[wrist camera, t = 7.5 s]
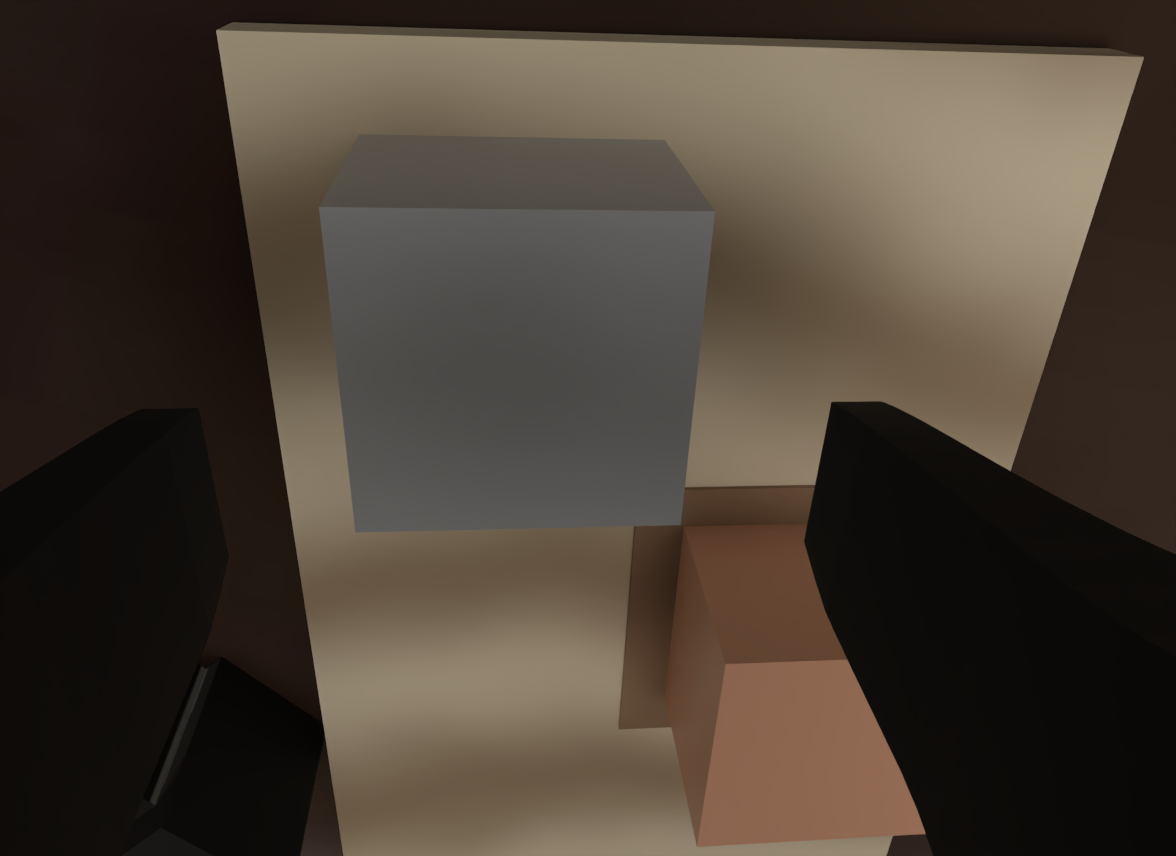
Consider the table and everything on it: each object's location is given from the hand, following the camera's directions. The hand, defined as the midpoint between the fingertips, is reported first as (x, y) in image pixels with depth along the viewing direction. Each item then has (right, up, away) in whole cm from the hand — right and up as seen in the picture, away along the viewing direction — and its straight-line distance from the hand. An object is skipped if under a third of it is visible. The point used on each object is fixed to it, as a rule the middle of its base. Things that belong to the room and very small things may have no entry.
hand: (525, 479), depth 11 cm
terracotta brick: (+5, -4, +10) cm, 12 cm away
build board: (+2, -3, +11) cm, 11 cm away
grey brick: (-1, +3, +6) cm, 7 cm away
